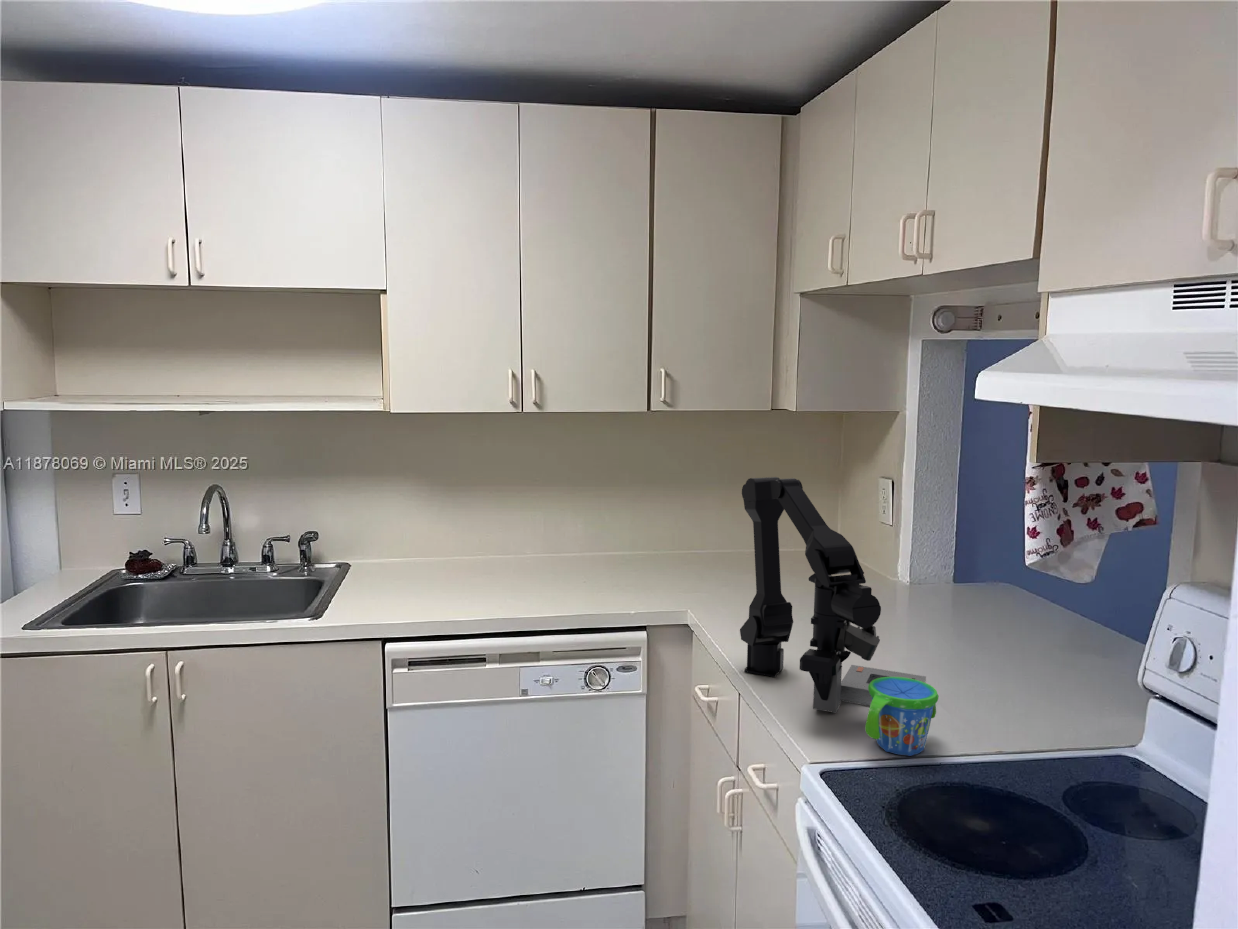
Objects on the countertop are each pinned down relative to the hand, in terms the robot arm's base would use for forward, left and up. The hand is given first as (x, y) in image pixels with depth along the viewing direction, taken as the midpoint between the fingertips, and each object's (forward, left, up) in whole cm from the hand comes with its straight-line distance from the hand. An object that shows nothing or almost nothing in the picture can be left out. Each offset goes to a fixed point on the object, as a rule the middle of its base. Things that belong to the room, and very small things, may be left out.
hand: (827, 695), depth 153 cm
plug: (0, 0, -2) cm, 2 cm away
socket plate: (+8, +12, -3) cm, 15 cm away
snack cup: (+14, -9, -3) cm, 17 cm away
